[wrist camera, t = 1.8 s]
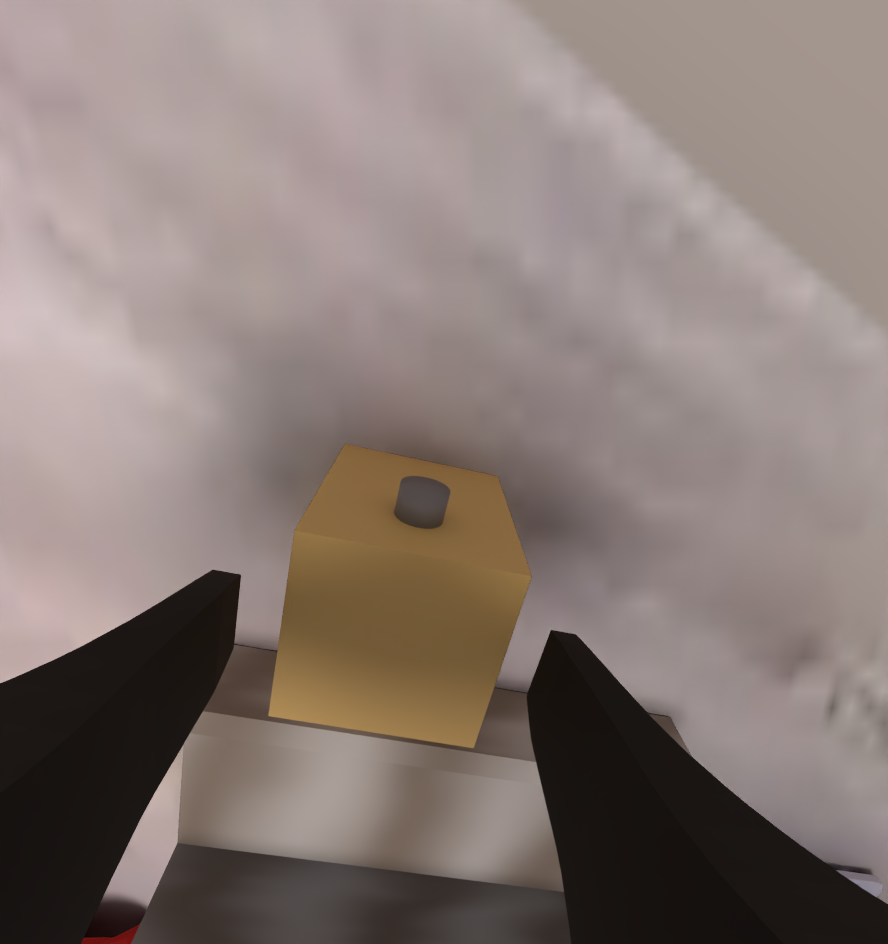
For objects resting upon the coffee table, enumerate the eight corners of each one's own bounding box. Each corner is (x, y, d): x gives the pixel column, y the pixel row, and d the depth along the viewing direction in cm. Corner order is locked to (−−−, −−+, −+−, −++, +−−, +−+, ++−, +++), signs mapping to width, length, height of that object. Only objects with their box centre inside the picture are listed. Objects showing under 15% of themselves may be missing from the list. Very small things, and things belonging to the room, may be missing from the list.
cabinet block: (504, 452, 16) (543, 543, 10) (461, 602, 18) (473, 748, 12) (349, 419, 15) (299, 494, 10) (322, 576, 17) (268, 715, 12)
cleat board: (670, 717, 20) (765, 888, 14) (589, 875, 23) (639, 1065, 17) (213, 641, 18) (112, 802, 12) (198, 824, 21) (113, 1016, 16)
